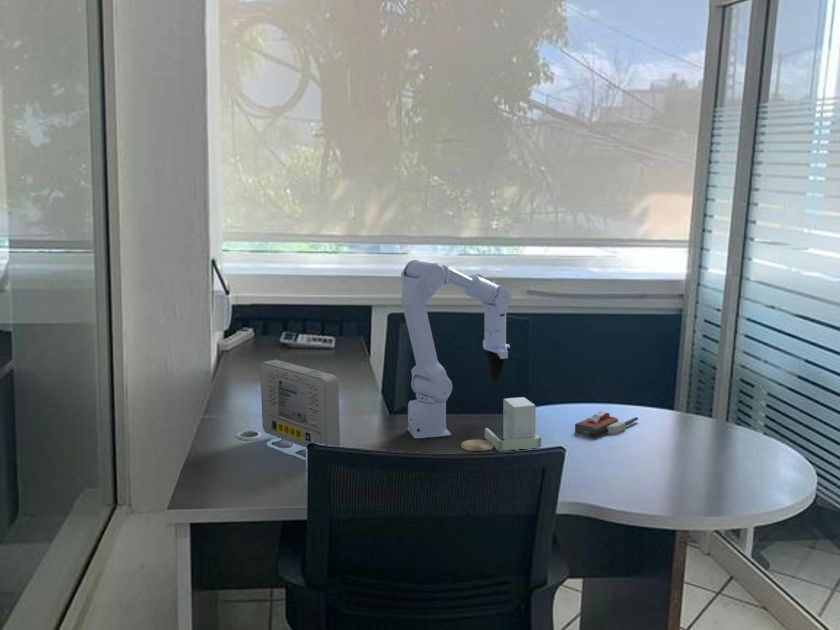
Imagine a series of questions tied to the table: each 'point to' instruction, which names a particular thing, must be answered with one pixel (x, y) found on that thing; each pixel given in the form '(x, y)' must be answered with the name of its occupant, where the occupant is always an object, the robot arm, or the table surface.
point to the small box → (518, 418)
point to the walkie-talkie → (601, 425)
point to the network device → (299, 404)
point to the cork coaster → (477, 445)
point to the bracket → (512, 442)
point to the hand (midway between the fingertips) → (494, 379)
